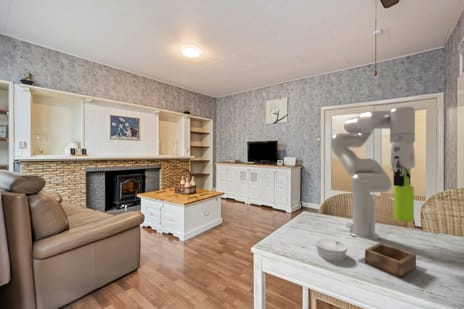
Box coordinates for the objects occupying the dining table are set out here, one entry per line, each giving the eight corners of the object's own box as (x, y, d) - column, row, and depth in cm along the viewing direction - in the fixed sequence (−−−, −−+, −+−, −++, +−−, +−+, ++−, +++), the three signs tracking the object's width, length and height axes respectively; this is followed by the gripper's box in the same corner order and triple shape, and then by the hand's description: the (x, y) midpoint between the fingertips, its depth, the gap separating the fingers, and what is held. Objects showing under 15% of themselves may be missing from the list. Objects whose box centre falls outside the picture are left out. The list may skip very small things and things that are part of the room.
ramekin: (353, 263, 81) (353, 249, 80) (327, 266, 78) (327, 252, 78) (333, 249, 92) (333, 237, 91) (310, 252, 89) (310, 240, 89)
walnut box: (364, 262, 79) (365, 249, 79) (380, 255, 85) (380, 242, 84) (401, 278, 69) (401, 263, 69) (415, 268, 75) (416, 254, 75)
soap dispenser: (392, 215, 87) (391, 167, 87) (414, 219, 82) (414, 168, 82) (389, 219, 83) (389, 168, 82) (413, 223, 78) (413, 169, 78)
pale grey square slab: (357, 263, 80) (357, 260, 80) (377, 253, 88) (377, 251, 88) (409, 286, 67) (409, 283, 67) (427, 272, 74) (427, 269, 74)
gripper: (405, 137, 74) (405, 188, 75) (422, 139, 84) (422, 184, 84) (381, 138, 81) (381, 186, 81) (399, 140, 90) (399, 182, 90)
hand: (401, 185), depth 82 cm, fingers closed on soap dispenser, 5 cm apart
